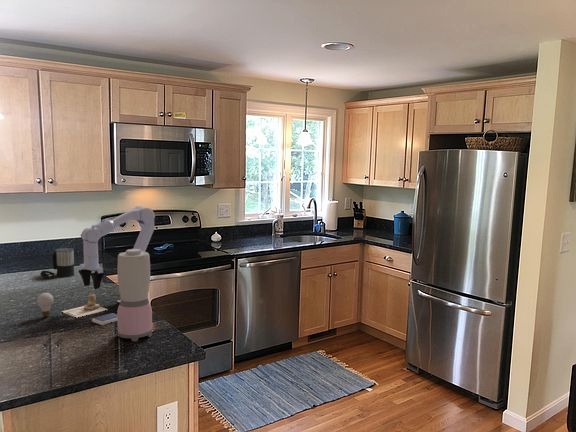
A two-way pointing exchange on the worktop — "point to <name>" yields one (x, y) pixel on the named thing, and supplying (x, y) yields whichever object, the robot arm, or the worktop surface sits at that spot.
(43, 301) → the light bulb
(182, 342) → the worktop surface
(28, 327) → the worktop surface
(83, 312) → the card sheet
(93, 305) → the stamp
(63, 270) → the milk frother
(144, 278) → the blender
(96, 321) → the ink pad
